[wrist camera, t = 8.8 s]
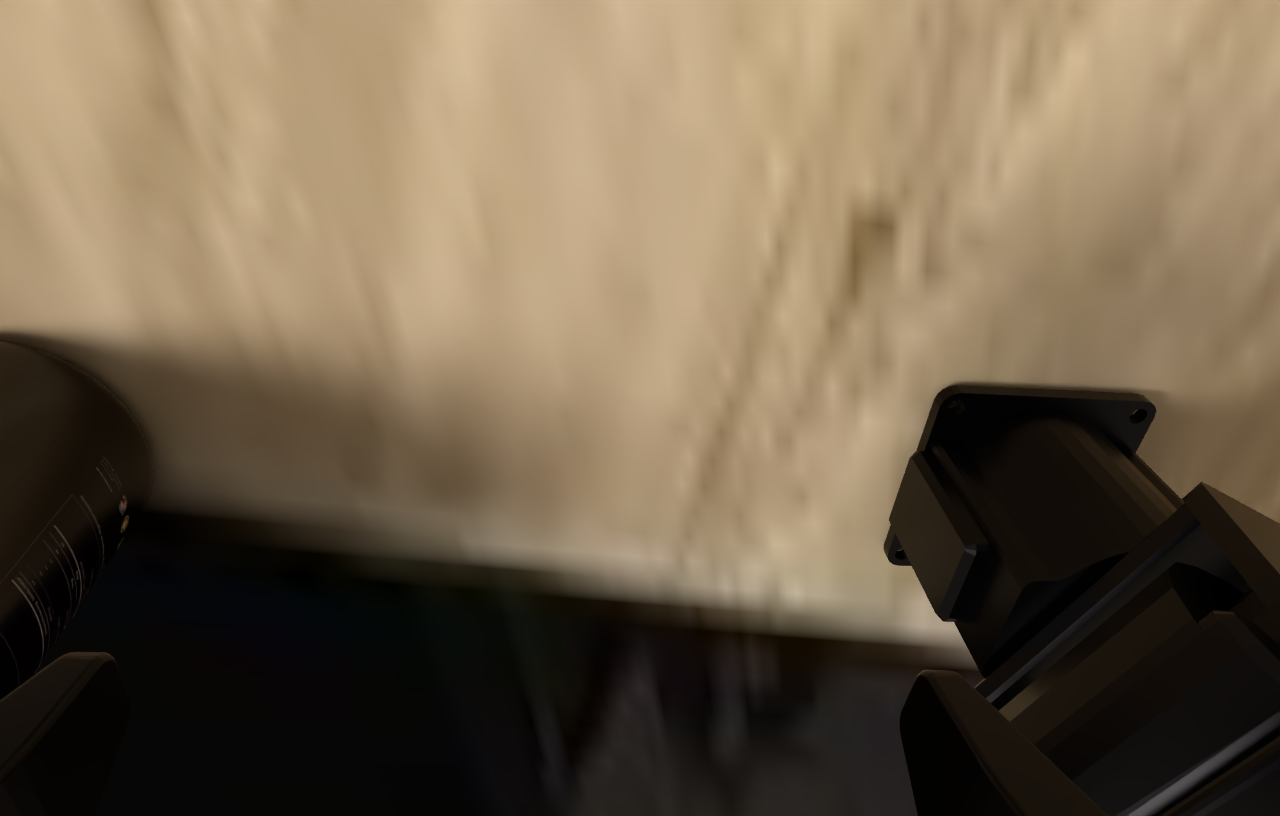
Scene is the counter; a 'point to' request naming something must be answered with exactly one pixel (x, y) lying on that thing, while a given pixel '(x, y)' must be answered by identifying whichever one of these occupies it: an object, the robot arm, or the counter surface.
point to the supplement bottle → (58, 498)
